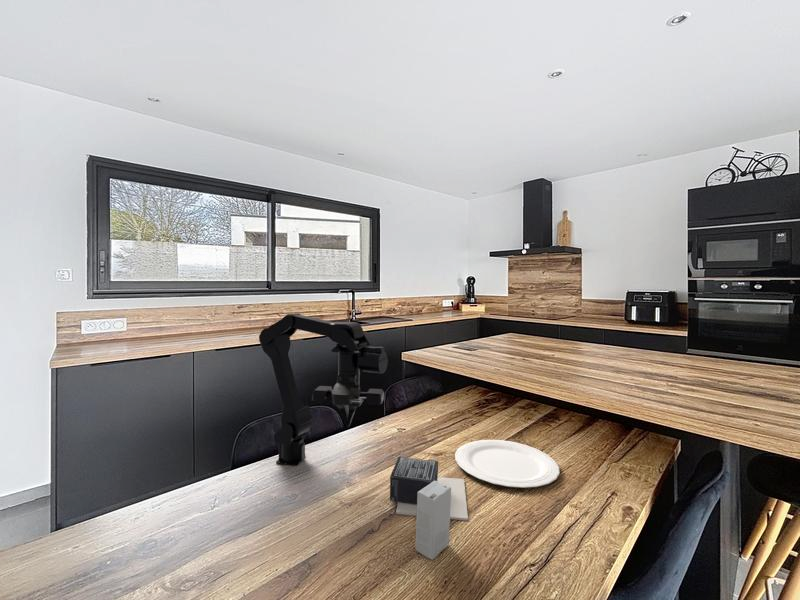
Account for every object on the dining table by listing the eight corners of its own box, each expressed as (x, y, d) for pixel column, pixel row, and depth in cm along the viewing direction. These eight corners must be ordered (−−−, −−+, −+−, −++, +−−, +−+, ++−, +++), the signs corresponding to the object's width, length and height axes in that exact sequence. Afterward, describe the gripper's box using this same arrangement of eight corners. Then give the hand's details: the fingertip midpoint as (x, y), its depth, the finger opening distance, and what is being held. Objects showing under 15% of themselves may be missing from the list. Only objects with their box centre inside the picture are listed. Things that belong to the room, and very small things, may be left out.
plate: (574, 466, 111) (575, 460, 111) (532, 508, 89) (532, 500, 89) (486, 437, 130) (486, 431, 130) (434, 465, 109) (434, 459, 109)
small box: (389, 503, 89) (433, 508, 87) (389, 476, 89) (433, 481, 86) (398, 479, 99) (438, 484, 97) (398, 455, 99) (438, 459, 97)
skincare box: (432, 535, 78) (433, 478, 78) (450, 545, 75) (452, 486, 75) (413, 551, 74) (415, 490, 73) (432, 562, 71) (434, 499, 70)
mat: (396, 513, 85) (396, 511, 85) (403, 476, 102) (404, 474, 102) (467, 520, 83) (467, 518, 83) (463, 481, 100) (463, 479, 100)
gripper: (304, 374, 95) (303, 435, 95) (377, 378, 93) (376, 441, 93) (319, 365, 106) (318, 420, 106) (384, 368, 104) (383, 424, 104)
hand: (348, 426), depth 102 cm, fingers closed
